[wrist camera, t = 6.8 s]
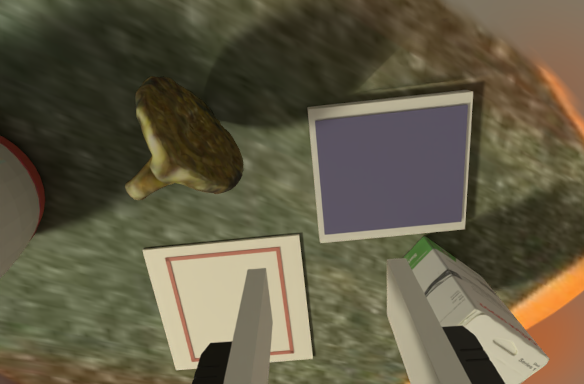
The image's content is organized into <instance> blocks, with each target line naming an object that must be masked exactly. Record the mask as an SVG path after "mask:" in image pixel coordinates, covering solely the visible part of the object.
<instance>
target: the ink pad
mask: <svg viewBox="0 0 584 384" xmlns="http://www.w3.org/2000/svg"><path fill="white" fill-rule="evenodd" d="M472 104H473V92H472V91H469V90H460V91H451V92H441V93H432V94H423V95H414V96H404V97H395V98H386V99H377V100H368V101H358V102H349V103H340V104H331V105H322V106H312V107H307V110H308V120H309V131H310V142H311V153H312V164H313V175H314V186H315V196H316V207H317V218H318V229H319V239H320V243H326V242H336V241H347V240H357V239H368V238H378V237H389V236H399V235H410V234H420V233H431V232H441V231H452V230H462V229H465V220H466V203H467V187H468V170H469V153H470V137H471V120H472Z"/></svg>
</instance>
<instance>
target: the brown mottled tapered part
mask: <svg viewBox="0 0 584 384" xmlns="http://www.w3.org/2000/svg"><path fill="white" fill-rule="evenodd" d="M135 107H136V116H137V119H138V122H139V124H140V126H141V129H142V133H143V135H144V138H145V140H146V143H147V145H148V147H149V149H150V151H151V153H152V156H151V158H150V159H149V161H148V162H147V163H146V164H145V166H144V167H143V168H142V169H141V170H140V171H139V172H138V174H137V175H136V176H134V177H133V178H132V179H131V180H130V181H128V182H127V183H126V186H125V188H126V191H127V192H128V194H129V195H130V196H131V197H132V198H134V199H135V200H142V199H144V198H146V197H147V196H148V195H150V194H151V193H153V192H155V191H157V190H159V189H161V188H163V187H165V186H167V185H169V184H173V183H178V184H183V185H186V186H188V187H191V188H193V189H195V190H198V191H202V192H207V193H214V194H219V193H224V192H226V191H229V190H231V189H232V188H234V187H235V186H236V185H237V183H238V182H239V180H240V179H241V177H242V172H243V158H242V156H241V153H240V150H239V148H238V146H237V144H236V143H235V141H234V139H233V137H232V136H231V135H230V133H229V132H228V131H227V130H226V129H224V127H223V126H221V124H220V122H219V121H218V120H217V119H216V118H215V116H214V114H213V112H212V111H211V110H210V108H209V107H208V106H207V105H206V104H205V103H204V102H203V101H202V100H201V99H199V98H198V97H196V96H194V94H193V93H192V92H190V91H188V90H187V89H185V88H184V87H182V86H180V85H178V84H176V83H175V82H174V81H173V80H172V79H170V78H166V77H153V76H151V77H149V78H148V79H146V80H145V81H144V82H143V84H142V86H141V87H140V88H139V89H138V91H137V92H136V95H135Z"/></svg>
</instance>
